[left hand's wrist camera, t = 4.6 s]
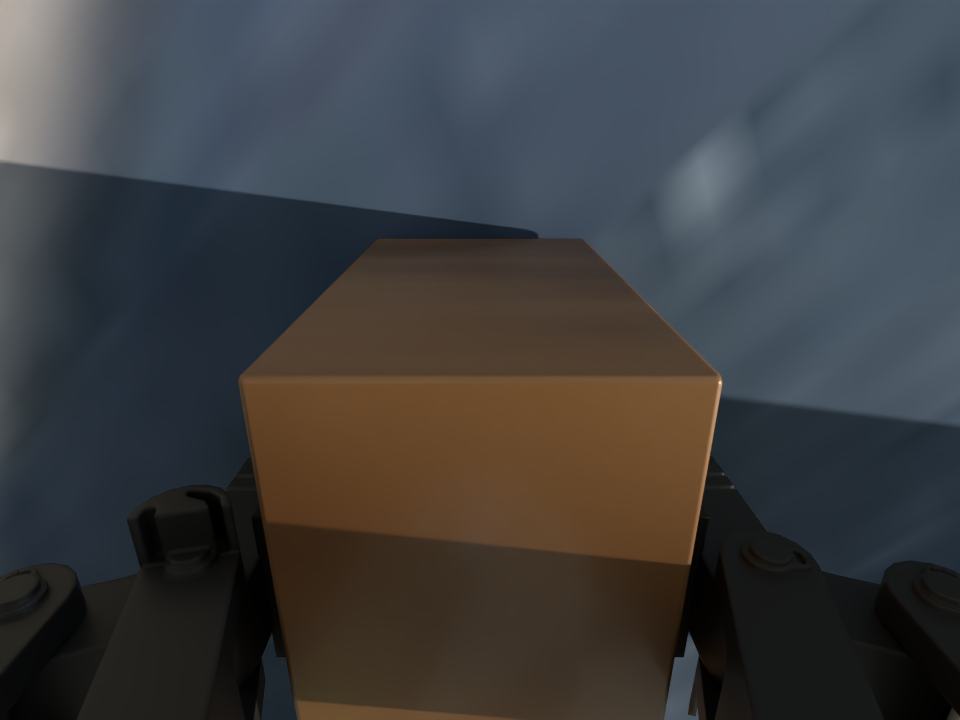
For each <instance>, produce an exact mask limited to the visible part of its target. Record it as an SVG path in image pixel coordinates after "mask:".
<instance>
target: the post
mask: <svg viewBox="0 0 960 720" xmlns="http://www.w3.org/2000/svg"><path fill="white" fill-rule="evenodd" d="M238 384H239V390H240V396H241V401H242V407H243V413H244V419H245V424H246V430H247V436H248V442H249V447H250V453H251V459H252V465H253V470H254V476H255V482H256V488H257V493H258V499H259V505H260V511H261V516H262V522H263V528H264V533H265V539H266V545H267V551H268V556H269V562H270V568H271V574H272V579H273V585H274V591H275V597H276V602H277V608H278V614H279V620H280V625H281V631H282V637H283V643H284V648H285V654H286V660H287V666H288V671H289V677H290V683H291V689H292V694H293V700H294V706H295V712H296V717H297V720H664V715H665V709H666V703H667V698H668V692H669V686H670V681H671V675H672V669H673V663H674V658H675V652H676V646H677V640H678V635H679V629H680V623H681V618H682V612H683V606H684V600H685V595H686V589H687V583H688V577H689V572H690V566H691V560H692V554H693V549H694V543H695V537H696V532H697V526H698V520H699V514H700V509H701V503H702V497H703V491H704V486H705V480H706V474H707V469H708V463H709V457H710V451H711V446H712V440H713V434H714V428H715V423H716V417H717V411H718V406H719V400H720V394H721V388H722V378H721V375H720V374H719V373H718V372H717V371H716V370H715V369H714V368H713V367H712V366H711V365H710V364H709V363H708V362H707V361H706V360H705V359H704V358H703V357H702V356H701V355H700V354H699V353H698V352H697V351H696V350H695V349H694V348H692V347H691V346H690V345H689V344H688V343H687V342H686V341H685V340H684V339H683V338H682V337H681V336H680V335H679V334H678V333H677V332H676V331H675V330H674V329H673V328H672V327H671V326H670V325H669V324H668V323H667V322H666V321H665V320H664V319H663V318H662V317H661V316H660V315H659V314H658V313H657V312H656V311H655V310H654V309H653V308H652V307H651V306H650V305H649V304H648V303H647V302H646V301H645V300H644V299H643V298H642V297H641V296H640V295H639V294H638V293H637V292H636V291H635V290H634V289H633V288H632V287H631V286H630V285H629V284H628V283H627V282H626V281H625V280H624V279H623V278H622V277H621V276H620V275H619V274H618V273H617V272H616V271H615V270H614V269H613V268H612V267H611V266H610V265H609V264H608V263H607V262H606V261H605V260H604V259H603V258H602V257H601V256H600V255H599V254H598V253H597V252H596V251H595V250H594V249H593V248H592V247H591V246H590V245H589V244H588V243H587V242H586V241H585V240H583V239H377V240H376V241H375V242H374V243H373V244H372V245H371V246H370V247H369V248H368V249H367V250H366V251H365V252H364V253H363V254H362V255H361V256H360V257H359V258H358V259H357V260H356V261H355V262H354V263H352V264H351V265H350V266H349V267H348V268H347V269H346V270H345V271H344V272H343V273H342V274H341V275H340V276H339V277H338V278H337V279H336V280H335V281H334V282H333V283H332V284H331V285H330V286H329V287H328V288H327V289H326V290H325V291H324V292H323V293H322V294H321V295H320V296H319V297H318V298H317V299H316V300H315V301H314V302H313V303H312V304H311V305H310V306H309V307H308V308H307V309H306V310H305V311H304V312H303V313H302V314H301V315H300V316H299V317H298V318H297V319H296V320H295V321H294V322H293V323H292V324H291V325H290V326H289V327H288V328H287V329H286V330H285V331H284V332H283V333H282V334H281V335H280V336H279V337H278V338H277V339H276V340H275V341H274V342H273V343H272V344H271V345H270V346H269V347H268V348H267V349H266V350H265V351H264V352H263V353H262V354H261V355H260V356H259V357H258V358H257V359H256V360H255V361H254V362H253V363H252V364H251V365H250V366H249V367H248V368H247V369H246V370H245V371H244V372H243V373H242V374H241V375H240V377H239V381H238Z"/></svg>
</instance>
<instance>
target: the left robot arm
mask: <svg viewBox="0 0 960 720" xmlns="http://www.w3.org/2000/svg"><path fill="white" fill-rule="evenodd" d="M127 521H128V525H129V529H130V532H131V536H132V539H133V543H134V546H135V550H136V553H137V557H138V560H139V564H140V570H139V572H138V574H135V575H132V576H128V577H124V578H120V579H115V580H111V581H106V582H102V583H97V584H93V585H88V586H83V587H81V586H80V583H79V580H78V577H77V574H76V572H75V571H74V570H72V569H71V568H70V567H69V566H67V565H62V564H55V563H48V564H41V565H33V566H29V567H26V568H22V569H20V570H16V571H13V572H10V573H8V574H6V575H4V576H2V577H0V720H261V716H262V706H263V697H264V687H265V675H264V668H263V663H262V658H261V657H262V655H263V652H264V650H265V648H266V645H267V643H268V641H269V638H270V636H271V633H272V634H273V640H274V645H275V651H276V656H277V657H286V654H285V648H284V643H283V637H282V631H281V625H280V620H279V614H278V608H277V602H276V597H275V591H274V585H273V579H272V574H271V568H270V562H269V556H268V551H267V545H266V539H265V533H264V528H263V522H262V516H261V511H260V505H259V499H258V493H257V488H256V482H255V476H254V470H253V465H252V459H251V457H250V458H249V459H248V460H247V461H246V462H245V464H244V465H243V467H242V468H241V469H240V471H239V472H238V473H237V477H236V478H234V479H233V480H232V482H231V483H230V485H229V486H228V487H227V491H224V490H223V489H222V488H218V487H214V486H210V485H191V486H186V487H181V488H177V489H172V490H169V491H167V492H164V493H162V494H160V495H157V496H155V497H152V498H151V499H149V500H148V501H146V502H145V503H143V504H142V505H140V506H139V507H137V508H136V509H135V511H134V512H133V513H132V514H131V515H130V517H129V518H128V519H127ZM688 631H689V632H690V634H691V637H692V639H693V642H694V644H695V646H696V649H697V651H698V653H699V658H698V663H697V668H696V673H695V678H694V683H693V688H692V693H691V698H690V704H689V711H688V715H693V716H696V711H697V706H698V714H699V720H960V574H958V573H957V572H955V571H952V570H950V569H947V568H944V567H940V566H937V565H934V564H930V563H924V562H916V561H904V562H897V563H893V564H892V565H891V566H890V567H889V568H887V569H886V570H885V573H884V576H883V579H882V582H881V585H879V584H874V583H870V582H865V581H861V580H856V579H851V578H847V577H842V576H838V575H834V574H830V573H827V572H823V571H821V569H820V567H819V565H818V564H817V562H816V561H815V560H814V558H813V557H812V555H811V554H810V553H808V552H807V551H806V550H804V549H803V548H802V547H801V546H799V545H798V544H797V543H795V542H793V541H791V540H789V539H786V538H784V537H782V536H780V535H778V534H774V533H770V532H767V531H766V530H765V529H764V527H763V526H762V524H761V523H760V522H759V520H758V519H757V518H756V516H755V515H754V513H753V512H752V511H751V509H750V508H749V507H748V505H747V504H746V502H745V501H744V500H743V498H742V497H741V495H740V494H739V493H738V491H737V490H736V489H734V486H733V484H732V483H731V482H730V480H729V479H728V478H727V476H724V472H723V471H722V469H721V468H720V466H719V465H718V464H717V462H716V461H715V460H714V458H713V457H712V456H710V457H709V463H708V469H707V474H706V480H705V486H704V491H703V497H702V503H701V509H700V514H699V520H698V526H697V532H696V537H695V543H694V549H693V554H692V560H691V566H690V572H689V577H688V583H687V589H686V595H685V600H684V606H683V612H682V618H681V623H680V629H679V635H678V640H677V646H676V652H675V657H684V653H685V647H686V642H687V636H688Z"/></svg>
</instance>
